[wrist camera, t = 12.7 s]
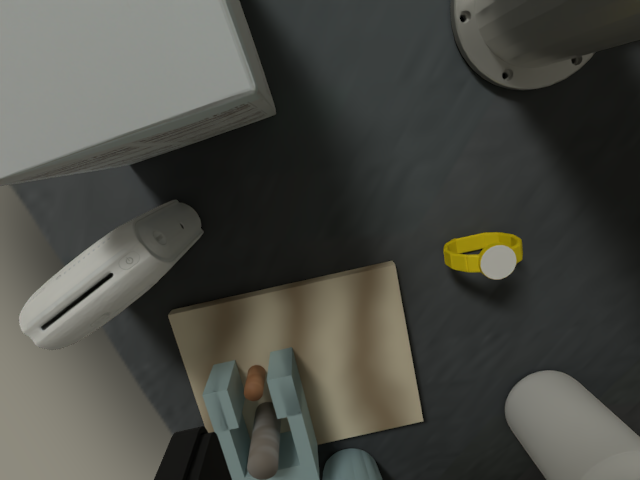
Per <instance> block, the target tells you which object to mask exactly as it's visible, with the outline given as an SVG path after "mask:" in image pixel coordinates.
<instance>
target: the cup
mask: <svg viewBox="0 0 640 480" xmlns="http://www.w3.org/2000/svg"><path fill="white" fill-rule="evenodd" d="M323 480H383V479H382V477H381V474H380V472H379V469H378V466H377V464H376V462H375V460H374V458H373V457H372V456H371V455H370V454H369V453H367V452H365V451H363V450H360V449H355V448H349V449H343V450H341V451H338V452H336V453H335V454H333V455H332V456H331V457H330V458H329V459H328V460H327V462H326V463H325V466H324V470H323Z"/></svg>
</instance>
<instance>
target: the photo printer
mask: <svg viewBox="0 0 640 480" xmlns="http://www.w3.org/2000/svg"><path fill="white" fill-rule="evenodd" d="M202 234H203V230H202V229H201V220H200V218H199V216H198V214H197V213H196V211H195V210H194V209H193V208H192V207H190V206H189V205H187V204H184V203H179V202H178V200H172V201H169V202H167V203H165V204H163V205H161V206H158V207H156V208H154V209H152V210H150V211H148V212H146V213H144V214H142V215H140V216H138V217H136V218H135V219H133V220H131V221H129V222H127V223H125V224H123V225H121V226H119V227H118V228H116V229H114V230H113V231H112V232H110V233H109V234H107V235H106V236H104V237H103V238H102V239H100V240H99V241H97V242H96V243H95V244H93V245H92V246H91V247H89V248H88V249H87V250H85V251H84V252H83V253H81V254H80V255H79V256H77V257H76V258H75V259H74V260H72V261H71V262H70V263H69V264H67V265H66V266H65V267H64V268H62V269H61V270H60V271H59V272H58V273H57V274H56V275H54V276H53V277H52V278H51V279H49V280H48V281H47V282H46V283H45V284H44V285H42V287H40V288H39V289H38V290H37V291H36V292H35V293H34V294H33V295H32V296H31V297H30V298H29V300H28V301H27V302H26V304H25V305H24V307H23V309H22V310H21V312H20V315H19V324H20V328H21V330H22V332H23V333H24V334H26V335H28V336H29V337H30V338H31V339H32V340H33V342H34V344H35V345H36V346H38V347H41V348H44V349H49V350H56V349H61V348H64V347H66V346H69V345H72V344H74V343H77V342H78V341H80V340H82V339H83V338H85V337H86V336H88V335H89V334H91V333H93V332H94V331H95V330H97V329H98V328H100V327H101V326H103V325H104V324H105V323H107V322H108V321H110V320H111V319H112V318H114V317H115V316H116V315H118V314H119V313H120V312H122V311H123V310H124V309H125V308H127V307H128V306H129V305H131V304H132V303H133V302H134V301H136V300H137V299H138V298H139V297H141V296H142V295H143V294H144V293H145V292H147V291H148V290H149V289H150V288H151V287H152V286H154V285H155V284H156V283H157V282H158V281H159V280H160V279H161V278H162V277H163V276H164V275H165V274H166V273H167V272H168V271H169V270H170V269H171V268H172V266H173V265H174V264H175V263H176V262H177V261H178V260H179V259H180V258H181V257H182V256H183V255H184V254H185V253H186V252H187V251H188V250H189V249H190V248H191V247H192V246H193V245H194V244H195V243H196V242H197V240H198V239H199V238H200V237H201V235H202Z"/></svg>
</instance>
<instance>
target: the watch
mask: <svg viewBox="0 0 640 480" xmlns="http://www.w3.org/2000/svg"><path fill="white" fill-rule="evenodd" d="M479 249H482V251H481V252H480V254H477V255H465V254H460V253H465V252H469V251H474V250H479ZM443 251H444V258H445V264H446V265H447V266H449V267H450V268H452V269H454V270H458V271H463V272H481V273H482V274H484V275H485V276H486V277H488V278H490V279H494V280H498V279H503V278H506V277H507V276H509V275H510V274H511V273H512V272H513V270H514V269H515V266H516V264H517V263H518V262H520V261H521V260H522V256H523V250H522V240H521V239H520V238H518V237H517V236H515V235H512V234H507V233H501V232H500V233H499V232H487V233H481V234H476V235H472V236H467V237H462V238H458V239H453V240H451V241H449V242H448V243H446V244H445V245H444V249H443Z"/></svg>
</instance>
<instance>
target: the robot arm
mask: <svg viewBox="0 0 640 480" xmlns="http://www.w3.org/2000/svg"><path fill="white" fill-rule="evenodd" d="M450 15H451V26H452V30H453V34H454V38H455V42H456V44H457V46H458V48H459V50H460V52H461V54H462V56H463V58H464V59H465V60H466V62H467V63H468V64H469V66H470V67H471V68H472V69H473V70H474V71H475V72H476V73H477V74H478V75H480V76H481V77H482V78H483V79H485V80H487V81H489V82H490V83H492V84H494V85H496V86H500V87H503V88H506V89H511V90H531V89H538V88H542V87H547V86H551V85H553V84H555V83H558V82H560V81H562V80H565V79H566V78H568V77H569V76H571V75H572V74H574V73H575V72H577V71H578V70H579V69H580V68H581V67H582V66H583V65H585V64H586V63H587V62H588V61H589V60H590V59H591V58H592V56H593V55H594V54H595V52H598V51H601V50H605V49H608V48H612V47H616V46H619V45H623V44H626V43H630V42H634V41H637V40H640V0H451V5H450ZM460 16H462V17H463V18H464V22H461V20H460ZM571 59H572V61H571ZM502 73H504V74H505V78H504V79H503V77H502ZM154 480H232V478H231V475H230V472H229V469H228V466H227V463H226V460H225V457H224V454H223V451H222V448H221V445H220V442H219V439H218V436H217V434H216V433H215V432H211V433H208V431H207V429H206V428H205V427H203V426H202V427H198V428H193V429H189V430H184V431H180V432H176V433H174V434H173V436H172V438H171V440H170V443H169V445H168V448H167V450H166V452H165V455H164V457H163V459H162V462H161V464H160V466H159V469H158V471H157V474H156V476H155V479H154Z"/></svg>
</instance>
